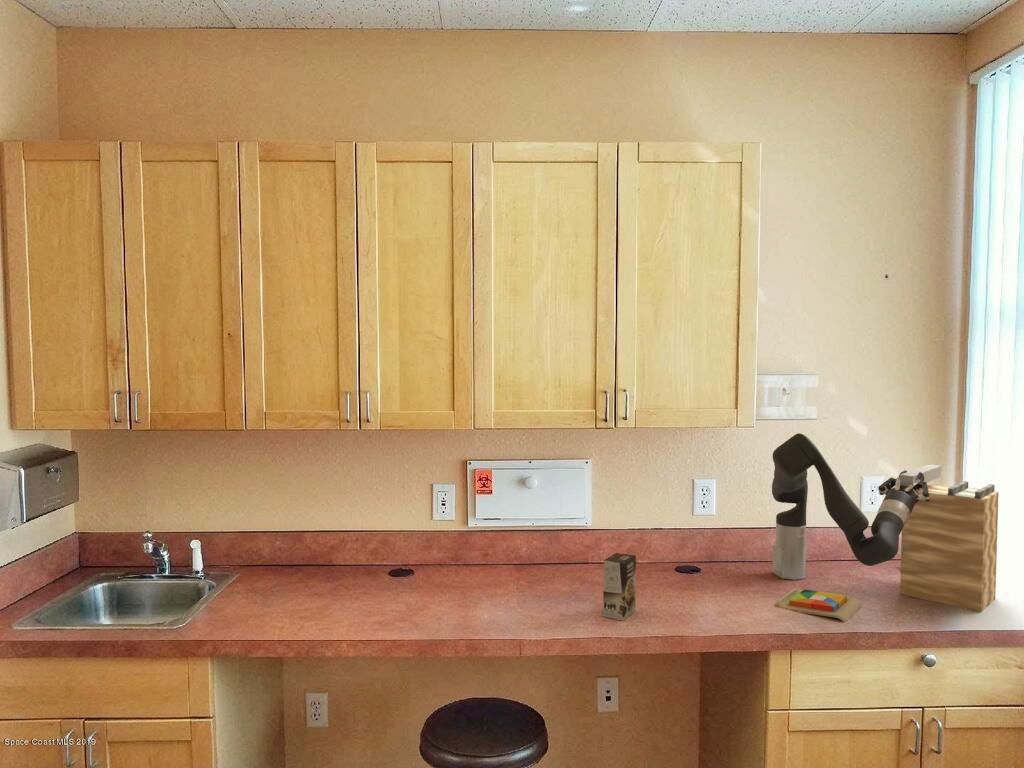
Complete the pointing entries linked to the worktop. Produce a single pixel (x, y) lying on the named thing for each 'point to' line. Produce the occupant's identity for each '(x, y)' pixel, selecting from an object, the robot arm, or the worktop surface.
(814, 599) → the wooden puzzle
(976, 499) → the maple block
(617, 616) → the coffee box
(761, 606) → the worktop surface
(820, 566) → the worktop surface
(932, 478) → the light gray bar
